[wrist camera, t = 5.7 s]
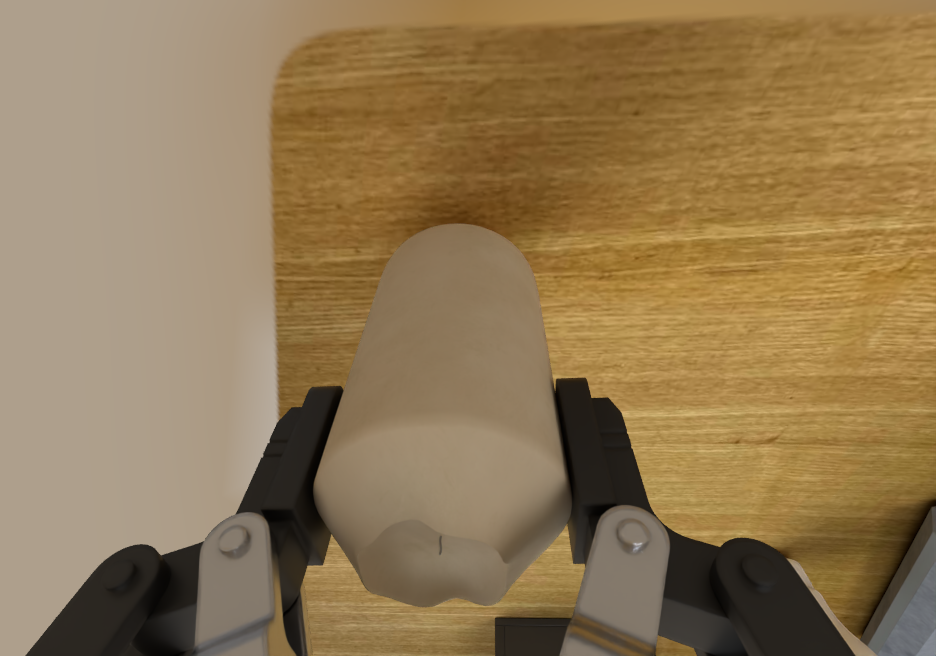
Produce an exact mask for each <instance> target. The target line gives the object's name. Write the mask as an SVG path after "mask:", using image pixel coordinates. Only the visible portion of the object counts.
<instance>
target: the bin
mask: <svg viewBox="0 0 936 656" xmlns="http://www.w3.org/2000/svg"><path fill="white" fill-rule="evenodd" d="M570 620H571V619H533V618H495V656H560V652H561V648H562V645H563V641H564V638H565V634H566V631H567V628H568V625H569V622H570Z"/></svg>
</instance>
